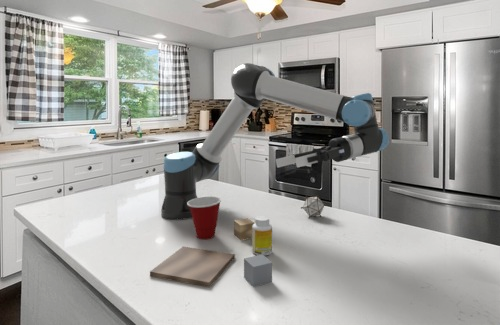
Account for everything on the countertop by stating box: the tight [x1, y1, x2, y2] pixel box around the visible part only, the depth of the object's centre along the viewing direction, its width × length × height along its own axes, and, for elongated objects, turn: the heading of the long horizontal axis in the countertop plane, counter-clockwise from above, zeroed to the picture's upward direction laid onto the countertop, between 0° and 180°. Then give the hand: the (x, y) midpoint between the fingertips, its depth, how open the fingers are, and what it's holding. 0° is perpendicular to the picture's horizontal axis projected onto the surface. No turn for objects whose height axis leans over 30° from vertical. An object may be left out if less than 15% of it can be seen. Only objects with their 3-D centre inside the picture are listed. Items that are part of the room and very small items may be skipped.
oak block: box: [233, 218, 255, 241], centre depth 108 cm, size 5×5×5 cm
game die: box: [300, 194, 327, 219], centre depth 128 cm, size 9×8×10 cm
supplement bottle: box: [251, 215, 273, 257], centre depth 96 cm, size 6×6×10 cm
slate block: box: [243, 255, 273, 288], centre depth 81 cm, size 5×5×5 cm
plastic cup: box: [187, 195, 222, 240], centre depth 108 cm, size 11×11×12 cm
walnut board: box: [149, 246, 236, 288], centre depth 88 cm, size 16×16×1 cm
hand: (285, 163), depth 101 cm, fingers open, 13 cm apart
